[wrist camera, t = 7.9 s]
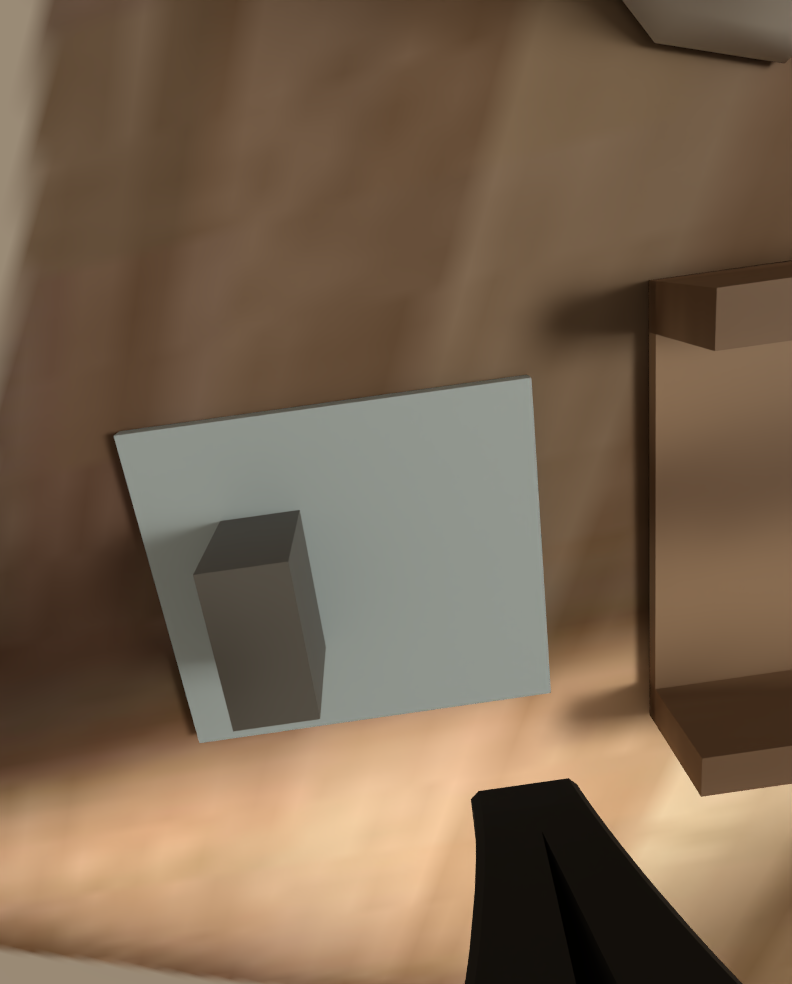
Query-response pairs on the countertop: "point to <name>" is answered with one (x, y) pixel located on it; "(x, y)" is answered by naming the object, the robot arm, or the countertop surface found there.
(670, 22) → the flask
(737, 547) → the box
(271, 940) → the countertop surface
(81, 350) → the countertop surface
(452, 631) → the cover plate
